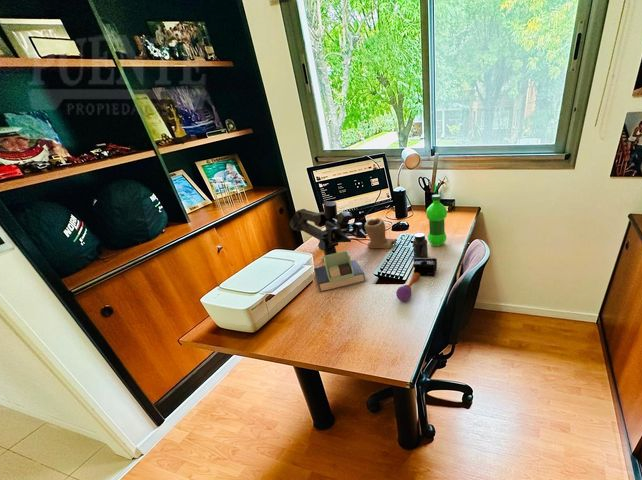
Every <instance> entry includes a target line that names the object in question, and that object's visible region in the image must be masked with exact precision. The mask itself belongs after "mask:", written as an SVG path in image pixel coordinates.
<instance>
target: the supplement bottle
mask: <svg viewBox="0 0 642 480" xmlns="http://www.w3.org/2000/svg"><path fill="white" fill-rule="evenodd" d="M412 248H413V259H414V258H429V250H428V239H426V234H425V233H424V232H418V233H415V234H414V239H413V241H412Z"/></svg>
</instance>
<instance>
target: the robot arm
mask: <svg viewBox="0 0 642 480" xmlns="http://www.w3.org/2000/svg"><path fill="white" fill-rule="evenodd" d="M322 207H323V211H320V212H315V211H312V210H307V209H306V208H301V209H297V210H296V211H295V212H294V215H293V216H291V218H290V221H289V227H290V229H292V230H293V231H297V232H304V233H305V234H308V235H309V236H311V237H313V238H315V239H317V240H318V241H319V242H318V244H317V246H318V249H319V250H320V251H323V256H325V255H330V254H334V253H338V252H337V250H336V247H337V246H339V243H352V239H351V238H350V237H349V236H351V235H352V236H353V237H354V238H356V239H367V236H368V235H367V234H366V232H364V224H363V223H362V222H354V223H353V224H352V228H350V227H351V223H350V221H351V220H352V219H353V214H352V213H351V212H350V211H340V212H339V213H338V206H337V202H336V201H330V200H328V201H327V200H324V201H322ZM309 222H312V223H313V224H314V225H313V224H311V223H309ZM322 227H324V228H325V229H324V230H322V229H321V228H322Z"/></svg>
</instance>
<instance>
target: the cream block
mask: <svg viewBox="0 0 642 480" xmlns="http://www.w3.org/2000/svg"><path fill="white" fill-rule="evenodd" d="M328 270H329V274H330V278H334V277H338V276H341V275H340V270H339V268H338V265H337V266H332V267H328Z"/></svg>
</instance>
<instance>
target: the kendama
mask: <svg viewBox="0 0 642 480" xmlns="http://www.w3.org/2000/svg"><path fill="white" fill-rule="evenodd" d="M419 279H421V276H420V274H419V273H414V272H413V274H412V276H411V279H410V281H409V282H408V284H403V285H402V286H399V287H398V288H397V290H396V291H395V293H396V295H395V296H396V298H397V299H398V300H399V301H401V302H407V301H409V300H410V299H411V297H412V286H413V285H414V284H415V283H416V282H417V281H419Z"/></svg>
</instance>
